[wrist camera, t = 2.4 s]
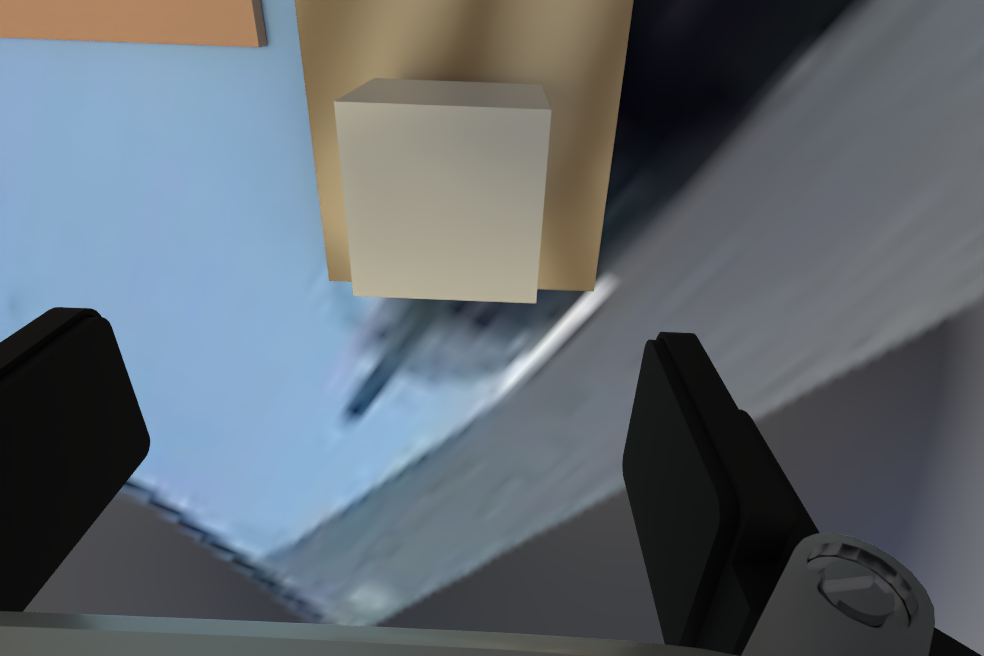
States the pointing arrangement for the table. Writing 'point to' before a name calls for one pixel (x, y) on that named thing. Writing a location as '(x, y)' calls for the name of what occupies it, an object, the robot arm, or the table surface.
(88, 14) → the tile
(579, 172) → the post stand
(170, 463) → the table surface
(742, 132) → the table surface
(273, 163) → the table surface
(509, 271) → the cream rectangular prism
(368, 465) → the table surface
